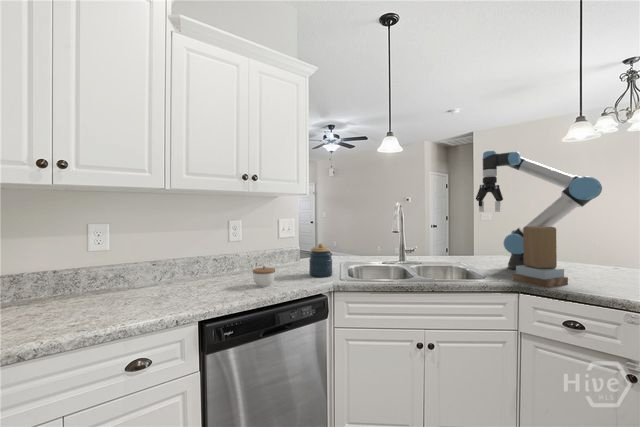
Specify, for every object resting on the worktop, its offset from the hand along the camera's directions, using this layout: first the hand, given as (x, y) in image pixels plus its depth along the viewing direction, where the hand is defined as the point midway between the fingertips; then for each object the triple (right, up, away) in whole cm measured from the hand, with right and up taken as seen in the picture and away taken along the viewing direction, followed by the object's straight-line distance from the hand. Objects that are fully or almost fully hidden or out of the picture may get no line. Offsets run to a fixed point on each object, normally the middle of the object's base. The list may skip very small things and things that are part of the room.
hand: (489, 211), depth 187 cm
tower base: (+5, -36, -35) cm, 50 cm away
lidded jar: (-131, -36, -39) cm, 141 cm away
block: (+6, -28, -35) cm, 45 cm away
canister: (-103, -36, -16) cm, 110 cm away
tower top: (+5, -32, -35) cm, 48 cm away
